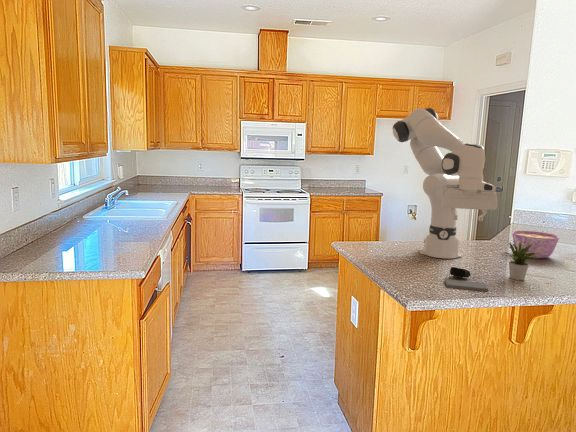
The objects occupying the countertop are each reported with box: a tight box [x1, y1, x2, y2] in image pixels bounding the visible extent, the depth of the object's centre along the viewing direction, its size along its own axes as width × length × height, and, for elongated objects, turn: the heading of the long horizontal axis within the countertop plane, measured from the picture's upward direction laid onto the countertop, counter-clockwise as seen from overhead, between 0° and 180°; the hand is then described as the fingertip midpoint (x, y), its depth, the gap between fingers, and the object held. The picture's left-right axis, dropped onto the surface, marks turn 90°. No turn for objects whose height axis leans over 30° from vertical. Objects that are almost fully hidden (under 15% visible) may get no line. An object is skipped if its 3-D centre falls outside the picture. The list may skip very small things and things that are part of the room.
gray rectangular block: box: [444, 278, 489, 292], centre depth 158 cm, size 8×14×1 cm, turn 75°
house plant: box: [499, 239, 537, 281], centre depth 170 cm, size 14×14×16 cm
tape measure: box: [449, 266, 472, 279], centre depth 168 cm, size 7×7×4 cm
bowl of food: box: [511, 230, 560, 259], centre depth 208 cm, size 20×20×12 cm
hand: (467, 220), depth 169 cm, fingers open, 8 cm apart
